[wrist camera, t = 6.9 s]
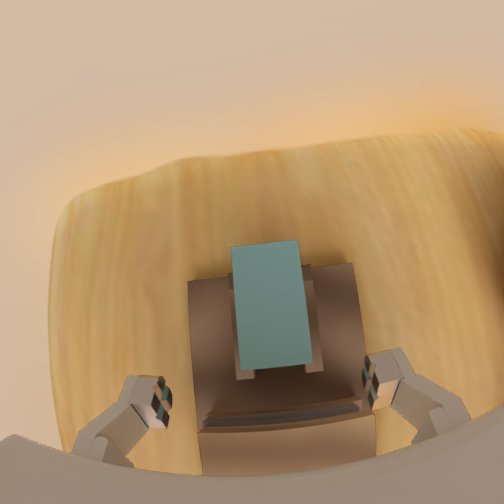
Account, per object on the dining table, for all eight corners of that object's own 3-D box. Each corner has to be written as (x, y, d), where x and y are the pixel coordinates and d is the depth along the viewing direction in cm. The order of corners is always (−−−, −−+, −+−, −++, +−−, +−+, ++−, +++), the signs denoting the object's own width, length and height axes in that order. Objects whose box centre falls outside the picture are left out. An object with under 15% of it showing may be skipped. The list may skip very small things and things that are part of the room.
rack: (368, 467, 16) (384, 487, 12) (209, 483, 17) (196, 505, 13) (349, 266, 21) (362, 248, 18) (191, 284, 22) (173, 270, 18)
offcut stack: (359, 458, 16) (377, 482, 11) (217, 472, 16) (202, 498, 12) (356, 396, 17) (376, 407, 13) (210, 411, 18) (191, 426, 14)
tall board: (295, 356, 19) (312, 362, 8) (262, 359, 19) (240, 370, 8) (288, 298, 20) (296, 239, 10) (256, 302, 20) (231, 247, 10)
